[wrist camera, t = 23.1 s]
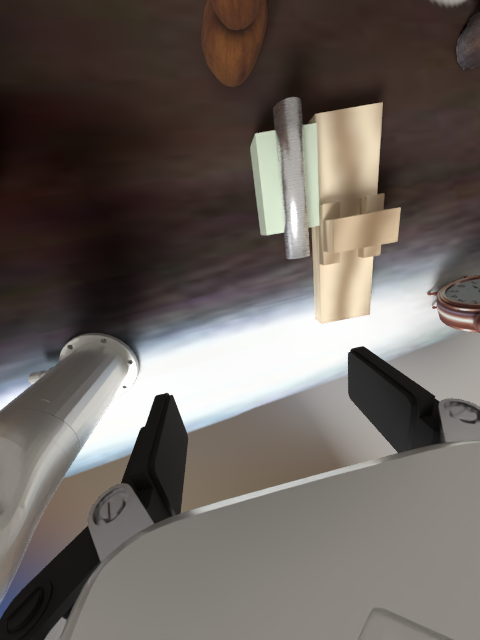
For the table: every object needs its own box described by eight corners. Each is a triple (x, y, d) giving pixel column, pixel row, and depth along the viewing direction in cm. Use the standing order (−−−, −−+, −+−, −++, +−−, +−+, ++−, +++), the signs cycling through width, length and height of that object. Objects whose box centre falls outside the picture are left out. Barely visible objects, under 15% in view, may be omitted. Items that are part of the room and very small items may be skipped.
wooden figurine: (238, 109, 28) (257, -12, 14) (196, 76, 26) (172, -97, 12) (267, 47, 26) (323, -164, 12) (224, 7, 24) (231, -286, 11)
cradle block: (260, 234, 34) (266, 235, 29) (250, 147, 29) (255, 133, 25) (307, 226, 34) (319, 225, 30) (303, 138, 30) (316, 122, 25)
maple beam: (315, 318, 40) (334, 335, 33) (307, 123, 29) (333, 91, 22) (360, 309, 40) (388, 325, 33) (369, 112, 29) (413, 77, 23)
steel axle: (304, 254, 31) (313, 255, 28) (283, 258, 31) (290, 259, 28) (295, 111, 25) (305, 94, 23) (270, 115, 25) (277, 99, 22)
